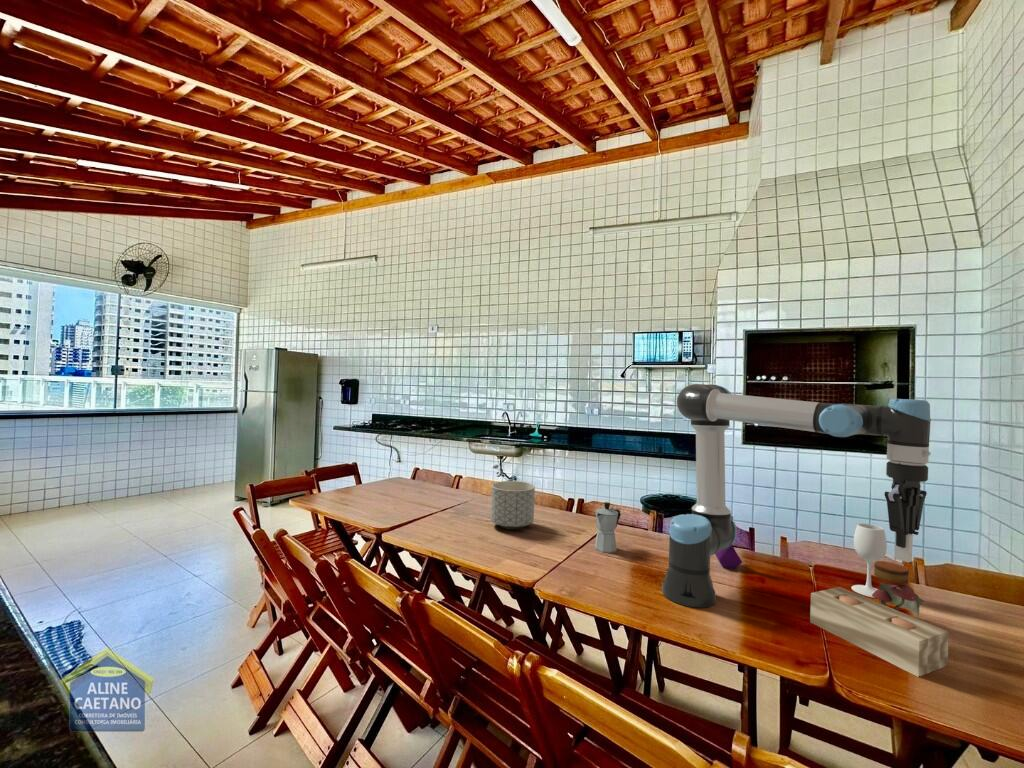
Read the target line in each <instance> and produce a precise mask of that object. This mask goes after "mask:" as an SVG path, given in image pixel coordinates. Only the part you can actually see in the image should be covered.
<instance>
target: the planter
mask: <svg viewBox="0 0 1024 768" xmlns="http://www.w3.org/2000/svg"><path fill="white" fill-rule="evenodd" d="M535 490H536V487H535V485H534V484H532V483H530V482H527V481H518V480H504V481H496V482H493V483H492V484H491V496H490V497H491V499H490V500H491V503H490V521H491V522H492V523H494V524H495V525H498V526H499V527H500V528H503V529H506V530H520V529H523V528H525V527H526V526H529V525H531V524H533V523H534V520H535Z"/></svg>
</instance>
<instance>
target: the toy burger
mask: <svg viewBox="0 0 1024 768" xmlns="http://www.w3.org/2000/svg"><path fill="white" fill-rule="evenodd" d="M873 565H874V567H873V568H874V570H873V573H874V574H873V575H874V576H875V577H876V578H878V579H880V580H883V581H886V582H889V583H883V582H879V584H878V585H879V588H878V590H876V591H875V592H874V593H873V594H872V596H873V597H875V598H874V599H878V602H880V604H883V605H885V606H887V607H888V605H887V604H891V605H894V608H893V607H891V608H892V609H895V610H897V611H899V609H900V608H903V609H906V610H909V611H912V612H913V613H914V614H915V615H916V616H917V619H920V607H921V605H922V604H923V603H924V602H925V600H923V599H921V597H920V596H919V594H916V593H915V591H914V589H913V588H912V587H911V586H909V585H906V584H908V583H909V577H910V576H909V573H910V571H909V569H908V567H906V566H904V565H901V564H898V563H894V562H890V561H884V560H883V561H882V560H879V561H876V562H874V563H873ZM891 583H894V584H891ZM896 584H899V585H896Z"/></svg>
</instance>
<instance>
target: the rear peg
mask: <svg viewBox="0 0 1024 768" xmlns="http://www.w3.org/2000/svg"><path fill="white" fill-rule="evenodd" d="M839 600H841V601H843V602H846V603H848V604H850V605H852V606H854V605H858V600H857V599H855V598H853V597H849V596H844V595H841V596H839Z"/></svg>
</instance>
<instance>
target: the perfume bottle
mask: <svg viewBox="0 0 1024 768" xmlns="http://www.w3.org/2000/svg"><path fill="white" fill-rule="evenodd" d="M731 519H732V520H733V521H734V516H733V515H731ZM738 554H739V553H738V552H737V551H736V550H735V547H734V544H732V545H731V546H730V547H729V548H727V549H726V550H724V551H721V552H718V553H716V554H714V555H715V556H716V557H715V558H716V559H717V561H718V563H719V564H720V565H721V568H723V569H733V570H736V569H737V568H738V567H739V566H740V565H741V564H742V563H743V561H742V559H741V558H740V556H739V555H738Z"/></svg>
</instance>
